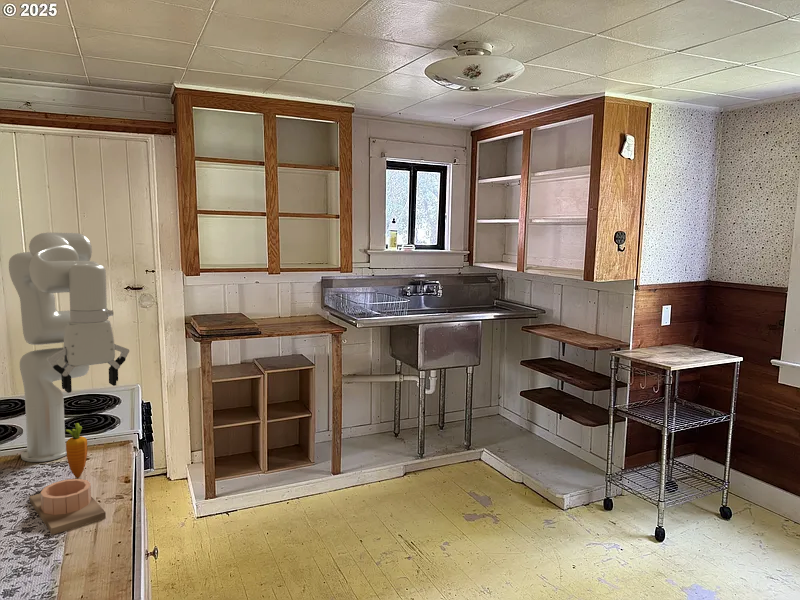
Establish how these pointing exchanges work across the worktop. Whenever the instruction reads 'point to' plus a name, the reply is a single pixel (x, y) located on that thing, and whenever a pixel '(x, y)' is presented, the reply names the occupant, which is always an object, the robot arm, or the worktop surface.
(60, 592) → the worktop surface
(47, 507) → the terracotta cup
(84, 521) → the walnut board
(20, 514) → the worktop surface
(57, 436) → the robot arm
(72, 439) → the carrot
